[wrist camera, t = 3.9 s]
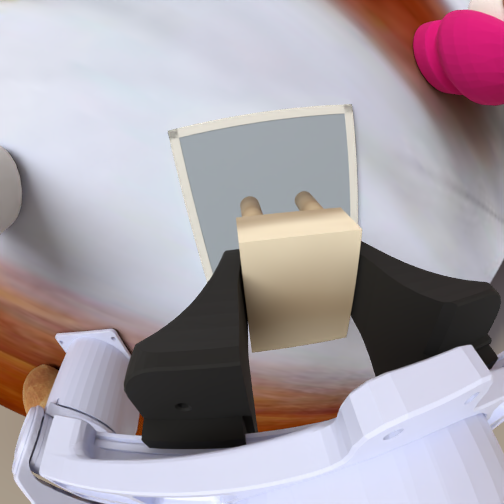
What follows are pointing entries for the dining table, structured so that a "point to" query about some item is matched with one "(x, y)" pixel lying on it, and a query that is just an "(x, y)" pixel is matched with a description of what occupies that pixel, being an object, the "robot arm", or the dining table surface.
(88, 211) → the dining table surface
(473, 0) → the lidded jar
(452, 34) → the pepper mill
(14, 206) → the can
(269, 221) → the small wooden stool
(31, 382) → the bread roll
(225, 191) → the mat
